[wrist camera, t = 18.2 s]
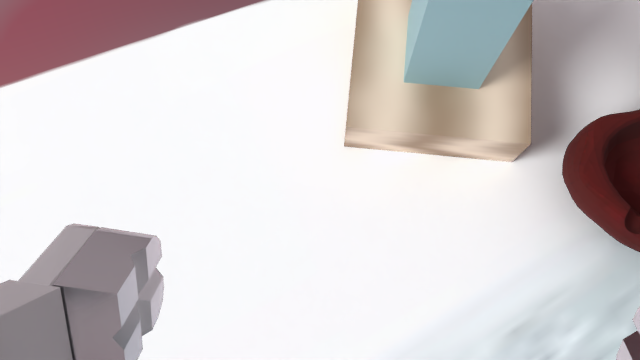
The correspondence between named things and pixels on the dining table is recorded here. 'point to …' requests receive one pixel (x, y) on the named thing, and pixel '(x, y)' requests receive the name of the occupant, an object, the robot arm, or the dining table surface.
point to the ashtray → (608, 174)
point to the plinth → (435, 95)
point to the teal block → (458, 39)
